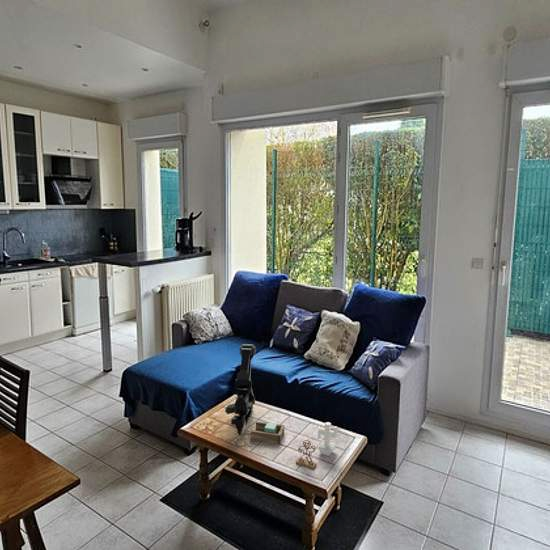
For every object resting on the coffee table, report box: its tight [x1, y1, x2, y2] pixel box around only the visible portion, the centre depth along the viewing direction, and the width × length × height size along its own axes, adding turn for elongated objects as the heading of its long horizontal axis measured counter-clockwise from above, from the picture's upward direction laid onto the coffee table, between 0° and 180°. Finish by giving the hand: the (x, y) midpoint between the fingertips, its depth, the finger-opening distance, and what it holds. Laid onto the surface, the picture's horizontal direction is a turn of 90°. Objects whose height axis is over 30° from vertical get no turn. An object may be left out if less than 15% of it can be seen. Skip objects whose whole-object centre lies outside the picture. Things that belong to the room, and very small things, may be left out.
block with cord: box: [240, 422, 278, 435], centre depth 214 cm, size 5×19×6 cm, turn 77°
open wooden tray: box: [250, 420, 285, 445], centre depth 213 cm, size 10×15×4 cm
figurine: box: [316, 421, 338, 457], centre depth 199 cm, size 7×9×15 cm
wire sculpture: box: [295, 439, 317, 471], centre depth 190 cm, size 9×4×12 cm, turn 63°
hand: (242, 429), depth 216 cm, fingers open, 9 cm apart
